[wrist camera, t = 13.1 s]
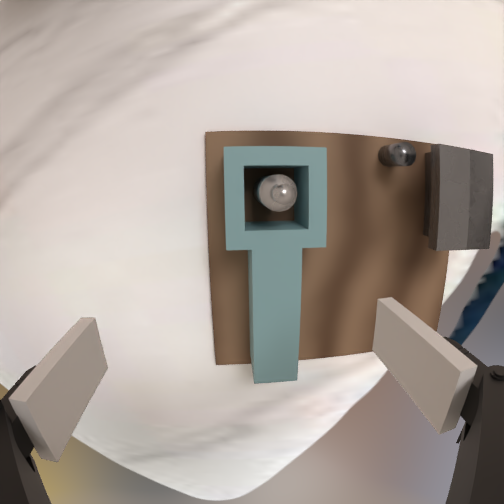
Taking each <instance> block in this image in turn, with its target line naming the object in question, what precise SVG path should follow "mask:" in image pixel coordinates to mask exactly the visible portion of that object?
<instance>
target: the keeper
mask: <svg viewBox="0 0 504 504" xmlns="http://www.w3.org/2000/svg"><path fill="white" fill-rule="evenodd" d="M378 158H379V161H380V162H381V164H382V165H384V166H386V167H398V166H410V165H412V164H413V163H414V162H415V160H416V151H415V148H414V147H413V146H412V145H411V144H410V143H408V142H401V143H395V144H390V145H385V146H382V147H381V148H380V150H379V152H378ZM492 206H493V154H489V153H485V152H480V151H475V150H470V149H465V148H460V147H454V146H449V145H443V144H434V145H431V152H428V153H425V211H424V230H423V235H424V236H428V237H429V242H428V248H430V249H433V250H435V251H447V250H470V249H489V245H490V235H491V223H492Z"/></svg>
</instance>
